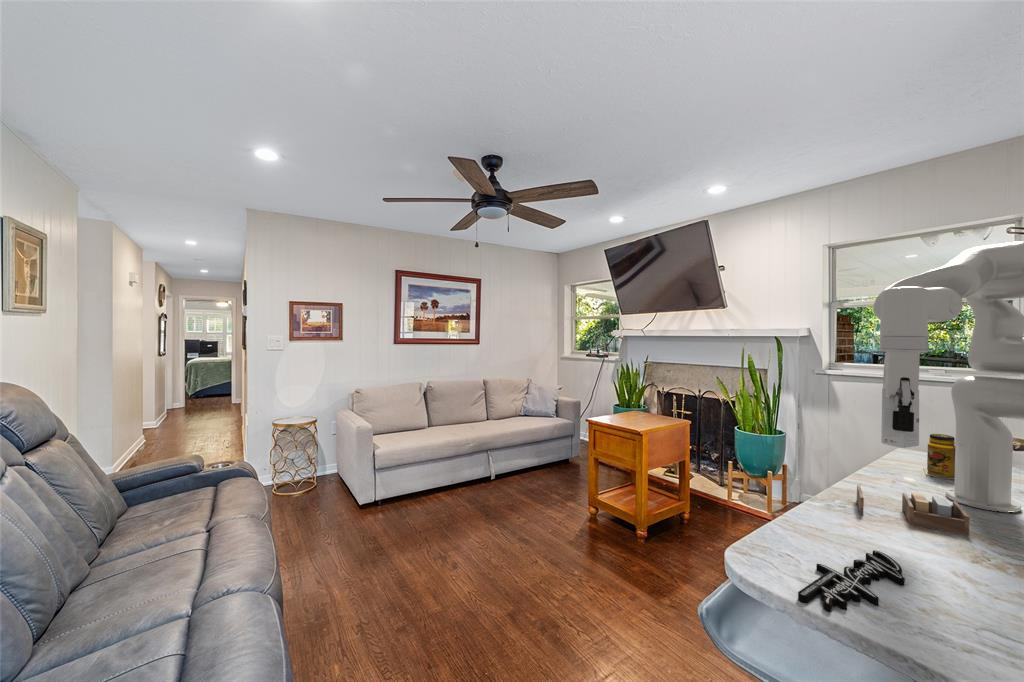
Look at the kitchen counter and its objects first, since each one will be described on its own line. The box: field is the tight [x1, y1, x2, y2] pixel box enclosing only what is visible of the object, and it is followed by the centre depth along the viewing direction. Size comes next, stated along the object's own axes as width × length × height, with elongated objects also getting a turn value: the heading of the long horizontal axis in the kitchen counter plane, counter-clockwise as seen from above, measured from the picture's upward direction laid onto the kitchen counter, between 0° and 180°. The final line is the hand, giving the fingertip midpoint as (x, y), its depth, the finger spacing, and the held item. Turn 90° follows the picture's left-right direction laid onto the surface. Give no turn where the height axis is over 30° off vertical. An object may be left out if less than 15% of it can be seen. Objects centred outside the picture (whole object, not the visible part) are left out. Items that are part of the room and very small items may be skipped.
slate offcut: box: [931, 495, 951, 517], centre depth 94 cm, size 6×2×5 cm, turn 144°
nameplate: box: [797, 550, 906, 613], centre depth 72 cm, size 28×2×10 cm
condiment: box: [923, 433, 956, 480], centre depth 127 cm, size 7×8×12 cm
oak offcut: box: [910, 492, 929, 513], centre depth 96 cm, size 6×2×5 cm, turn 144°
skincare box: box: [880, 387, 920, 449], centre depth 91 cm, size 6×4×12 cm
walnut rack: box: [856, 484, 970, 537], centre depth 97 cm, size 10×18×4 cm, turn 54°
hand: (900, 427), depth 91 cm, fingers closed on skincare box, 7 cm apart
